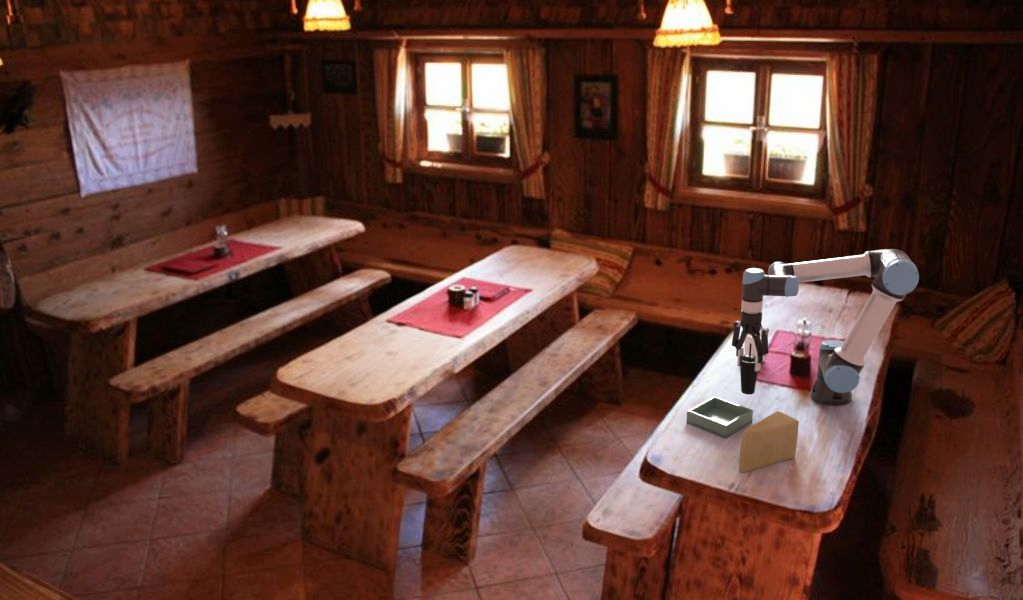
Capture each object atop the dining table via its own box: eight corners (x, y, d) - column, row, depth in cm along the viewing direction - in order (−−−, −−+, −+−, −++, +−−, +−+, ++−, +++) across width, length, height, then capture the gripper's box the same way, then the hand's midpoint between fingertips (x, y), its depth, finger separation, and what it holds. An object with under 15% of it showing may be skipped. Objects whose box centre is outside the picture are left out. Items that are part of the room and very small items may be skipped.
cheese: (751, 478, 290) (754, 438, 285) (729, 466, 298) (731, 426, 293) (796, 458, 301) (800, 419, 296) (774, 447, 309) (777, 408, 304)
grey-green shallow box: (752, 422, 326) (752, 410, 325) (725, 438, 316) (726, 425, 314) (713, 407, 338) (714, 395, 336) (686, 422, 327) (687, 410, 326)
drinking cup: (741, 385, 340) (744, 337, 333) (761, 390, 336) (764, 341, 329) (734, 393, 334) (737, 344, 328) (753, 397, 330) (757, 348, 323)
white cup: (761, 366, 373) (763, 339, 369) (739, 361, 378) (741, 335, 374) (768, 358, 380) (770, 332, 376) (747, 353, 385) (749, 328, 381)
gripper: (781, 313, 320) (777, 371, 327) (734, 301, 333) (732, 357, 341) (770, 319, 315) (766, 378, 323) (723, 306, 329) (720, 363, 336)
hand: (748, 367), depth 332 cm, fingers closed on drinking cup, 7 cm apart
